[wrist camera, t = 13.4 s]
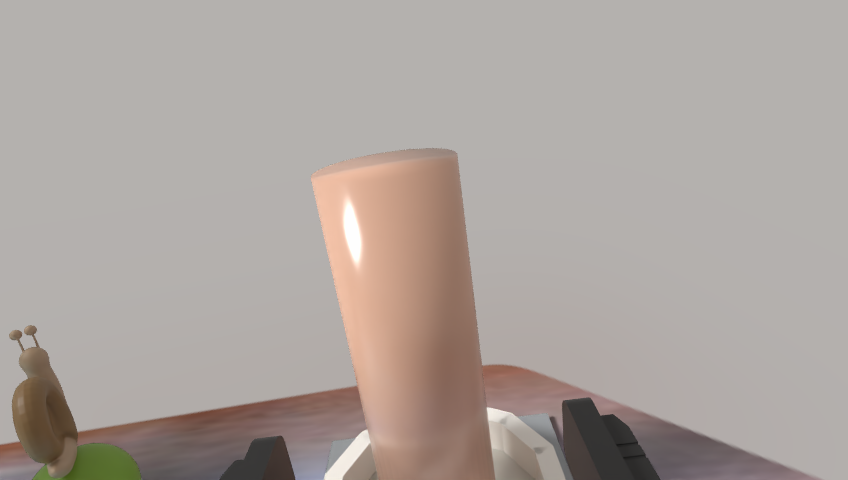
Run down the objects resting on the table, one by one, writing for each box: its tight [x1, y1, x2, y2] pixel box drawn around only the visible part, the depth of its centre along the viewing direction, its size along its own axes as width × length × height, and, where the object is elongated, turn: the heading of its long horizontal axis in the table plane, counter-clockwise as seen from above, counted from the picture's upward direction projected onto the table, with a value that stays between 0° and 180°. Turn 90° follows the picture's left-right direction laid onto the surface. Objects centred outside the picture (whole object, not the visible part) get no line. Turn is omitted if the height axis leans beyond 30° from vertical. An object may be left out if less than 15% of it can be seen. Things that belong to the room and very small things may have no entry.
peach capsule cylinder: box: [311, 148, 495, 480], centre depth 21 cm, size 6×6×18 cm
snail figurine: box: [9, 325, 141, 480], centre depth 26 cm, size 5×6×12 cm
